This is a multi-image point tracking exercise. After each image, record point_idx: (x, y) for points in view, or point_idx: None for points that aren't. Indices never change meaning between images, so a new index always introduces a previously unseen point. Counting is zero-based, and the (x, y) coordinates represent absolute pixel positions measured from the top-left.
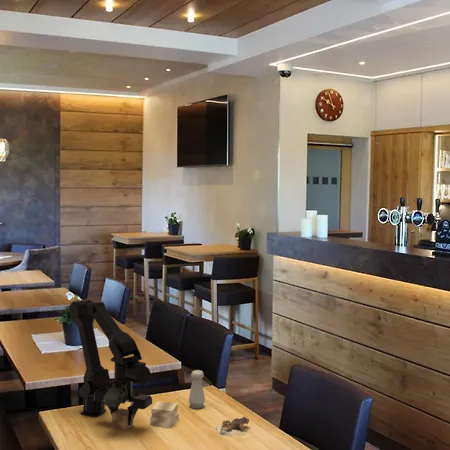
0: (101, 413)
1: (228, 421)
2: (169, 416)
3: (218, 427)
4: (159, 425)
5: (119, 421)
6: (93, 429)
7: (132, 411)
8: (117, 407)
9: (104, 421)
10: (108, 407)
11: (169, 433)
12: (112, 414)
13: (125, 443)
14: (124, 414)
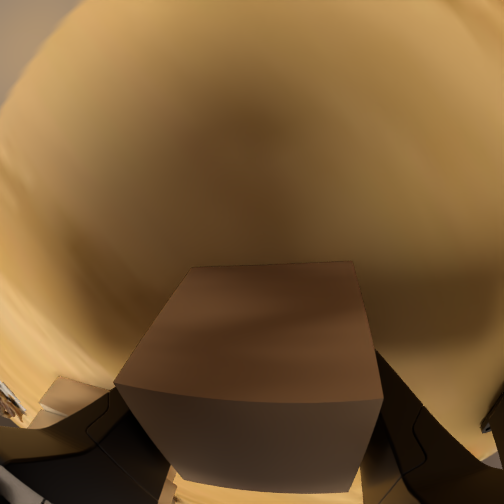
0: (501, 397)
1: (9, 412)
2: (40, 422)
3: (11, 394)
4: (93, 391)
5: (241, 321)
6: (496, 157)
7: (42, 431)
8: (367, 495)
9: (467, 339)
10: (478, 463)
11: (19, 330)
12: (372, 383)
13: (47, 74)
14: (165, 416)
